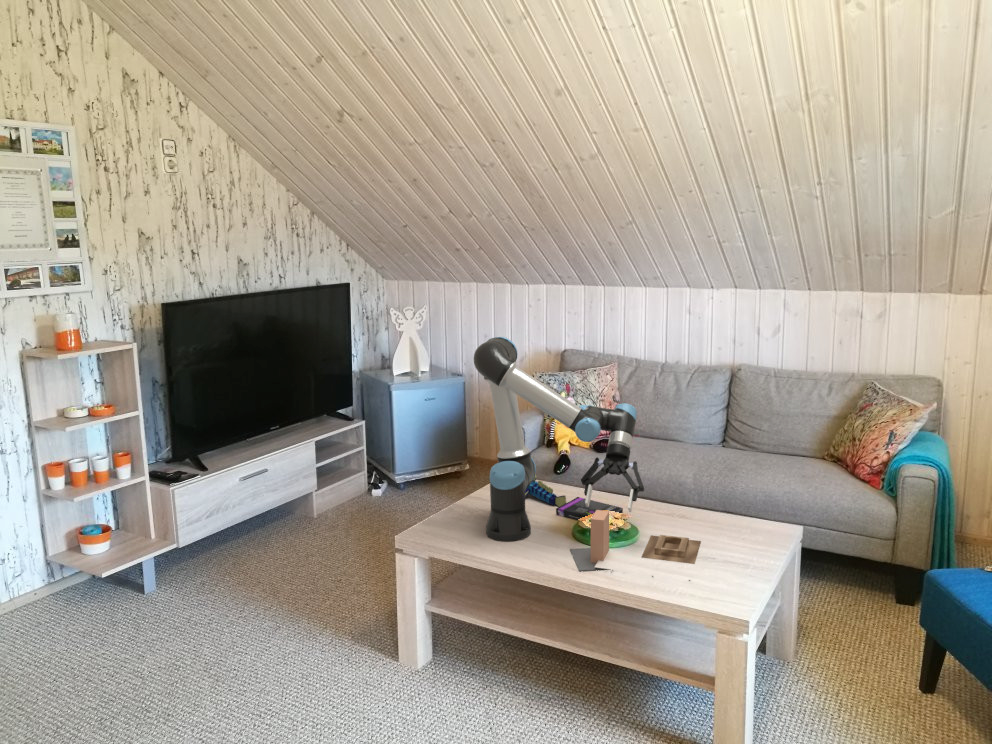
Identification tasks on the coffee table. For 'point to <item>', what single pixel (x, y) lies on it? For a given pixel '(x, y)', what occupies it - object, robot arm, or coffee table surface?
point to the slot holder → (672, 549)
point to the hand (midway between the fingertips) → (607, 507)
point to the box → (583, 508)
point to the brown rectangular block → (599, 535)
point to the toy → (544, 493)
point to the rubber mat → (584, 559)
